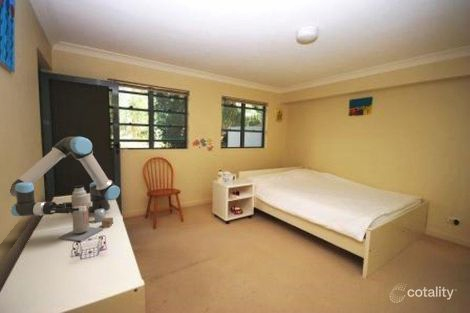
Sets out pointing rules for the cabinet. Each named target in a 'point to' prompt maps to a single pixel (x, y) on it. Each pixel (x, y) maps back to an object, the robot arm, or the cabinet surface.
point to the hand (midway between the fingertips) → (88, 206)
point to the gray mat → (80, 234)
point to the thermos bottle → (80, 217)
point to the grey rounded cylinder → (99, 215)
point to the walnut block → (107, 222)
